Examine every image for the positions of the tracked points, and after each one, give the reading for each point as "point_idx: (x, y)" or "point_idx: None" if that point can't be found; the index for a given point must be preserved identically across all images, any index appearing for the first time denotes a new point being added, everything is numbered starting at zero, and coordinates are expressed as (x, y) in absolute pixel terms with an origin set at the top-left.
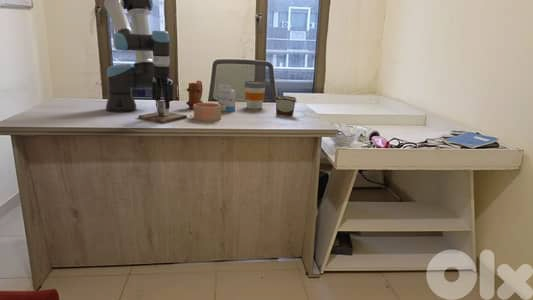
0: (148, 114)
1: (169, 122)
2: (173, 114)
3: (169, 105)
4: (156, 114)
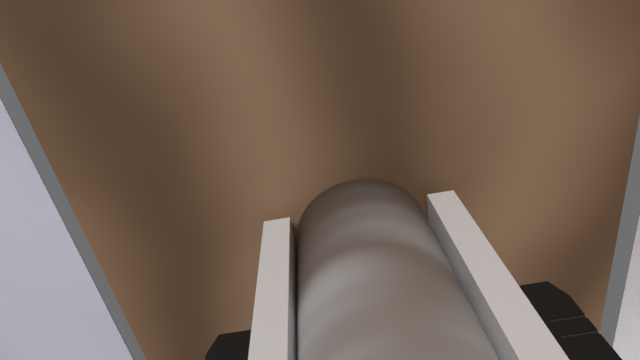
0: (179, 341)
1: (609, 279)
2: (404, 50)
3: (600, 336)
4: (236, 267)
